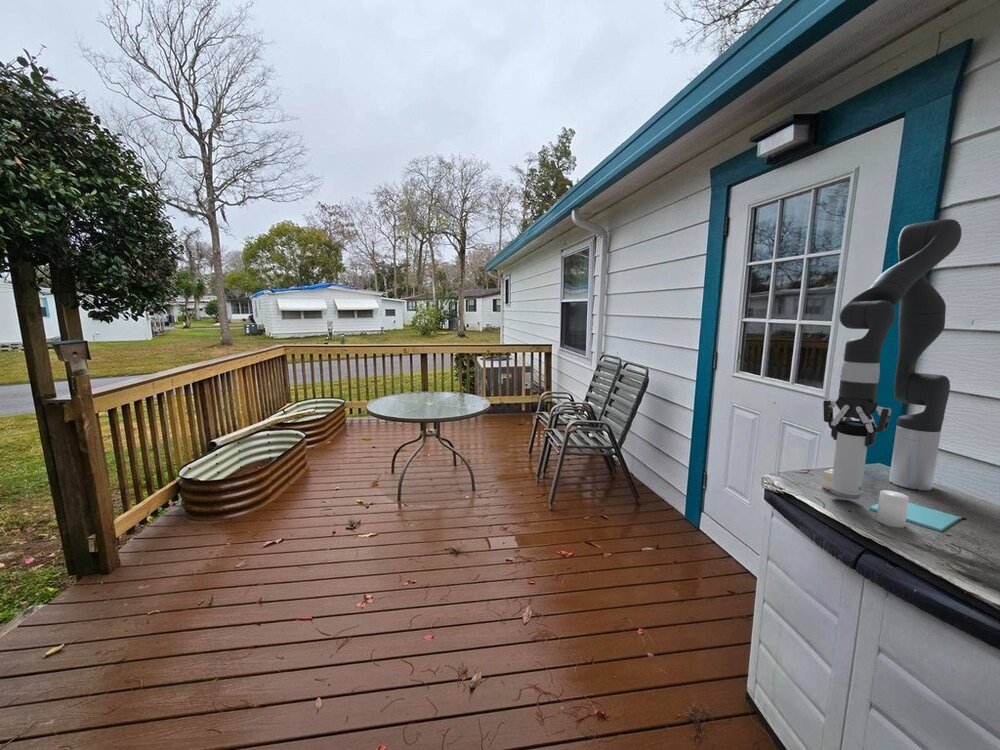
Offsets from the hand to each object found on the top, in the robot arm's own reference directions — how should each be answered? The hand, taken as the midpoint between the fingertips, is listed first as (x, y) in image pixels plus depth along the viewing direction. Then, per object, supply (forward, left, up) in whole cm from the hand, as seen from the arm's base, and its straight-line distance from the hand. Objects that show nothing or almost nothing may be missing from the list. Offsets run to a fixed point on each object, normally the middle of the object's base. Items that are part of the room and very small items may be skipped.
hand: (851, 442), depth 110 cm
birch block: (-8, -5, -16) cm, 19 cm away
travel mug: (0, 0, -14) cm, 14 cm away
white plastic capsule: (+5, +11, -16) cm, 20 cm away
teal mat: (-6, +12, -16) cm, 21 cm away
